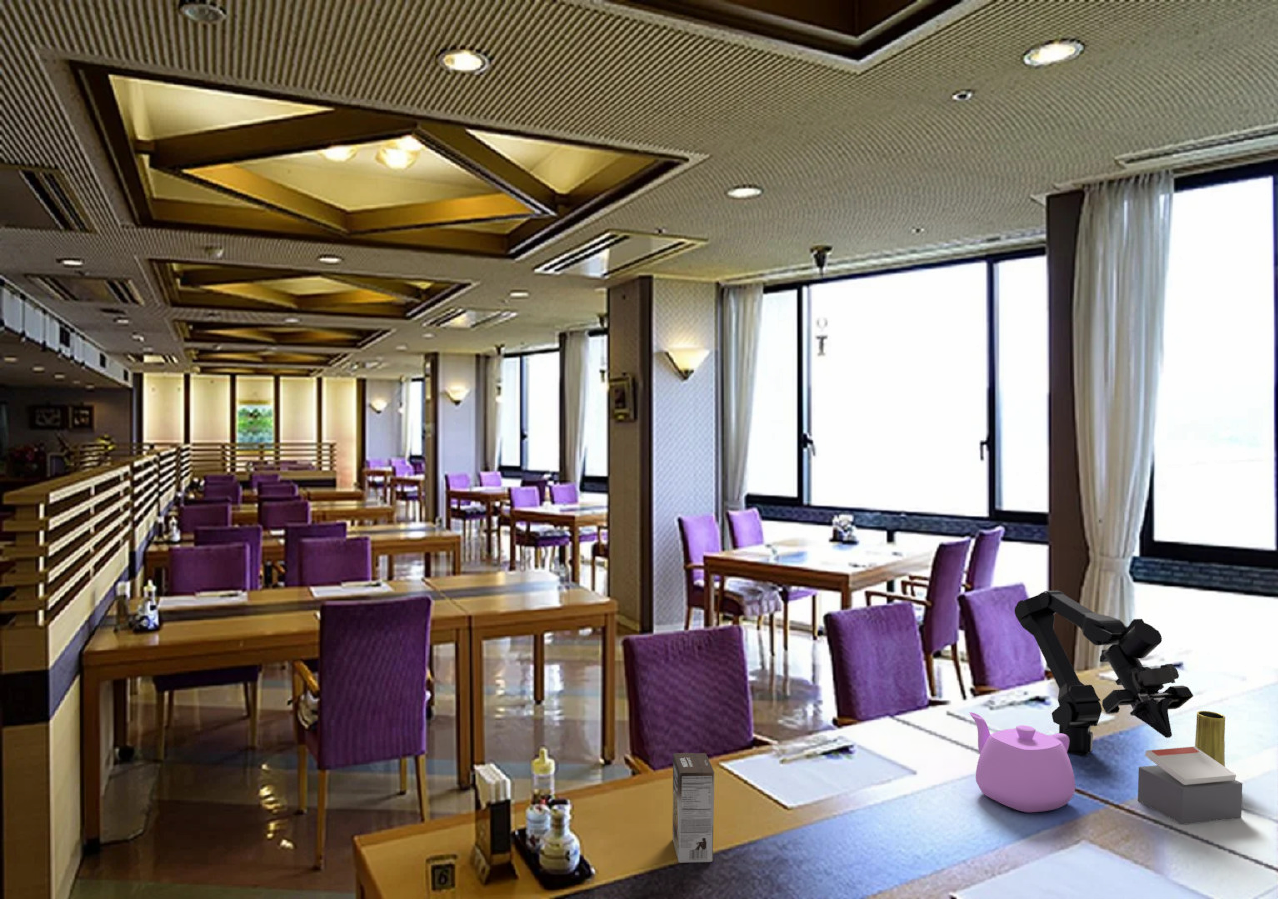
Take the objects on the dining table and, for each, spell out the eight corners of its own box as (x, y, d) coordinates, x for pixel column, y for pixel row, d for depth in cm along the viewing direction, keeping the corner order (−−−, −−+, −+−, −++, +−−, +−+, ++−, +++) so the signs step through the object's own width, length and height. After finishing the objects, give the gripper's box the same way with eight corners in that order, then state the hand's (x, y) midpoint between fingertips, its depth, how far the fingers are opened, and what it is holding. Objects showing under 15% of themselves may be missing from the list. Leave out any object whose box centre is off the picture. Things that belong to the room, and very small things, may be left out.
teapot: (1101, 805, 177) (1102, 731, 177) (1028, 824, 168) (1030, 747, 167) (1009, 765, 198) (1010, 699, 197) (940, 780, 188) (941, 712, 188)
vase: (1231, 785, 187) (1233, 720, 187) (1199, 783, 188) (1201, 718, 188) (1218, 774, 193) (1220, 711, 193) (1187, 772, 194) (1189, 709, 194)
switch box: (1137, 800, 179) (1138, 767, 179) (1194, 795, 182) (1195, 762, 182) (1181, 824, 168) (1182, 788, 168) (1241, 818, 172) (1242, 783, 171)
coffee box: (671, 839, 160) (672, 752, 160) (705, 838, 161) (706, 751, 160) (677, 863, 151) (678, 772, 151) (713, 862, 152) (715, 771, 151)
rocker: (1144, 755, 179) (1146, 749, 178) (1193, 751, 181) (1195, 745, 181) (1184, 785, 169) (1185, 778, 169) (1234, 780, 172) (1236, 773, 171)
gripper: (1112, 652, 183) (1153, 721, 172) (1186, 648, 187) (1231, 715, 176) (1085, 679, 191) (1122, 747, 180) (1156, 675, 195) (1197, 740, 184)
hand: (1169, 737), depth 180 cm, fingers closed
